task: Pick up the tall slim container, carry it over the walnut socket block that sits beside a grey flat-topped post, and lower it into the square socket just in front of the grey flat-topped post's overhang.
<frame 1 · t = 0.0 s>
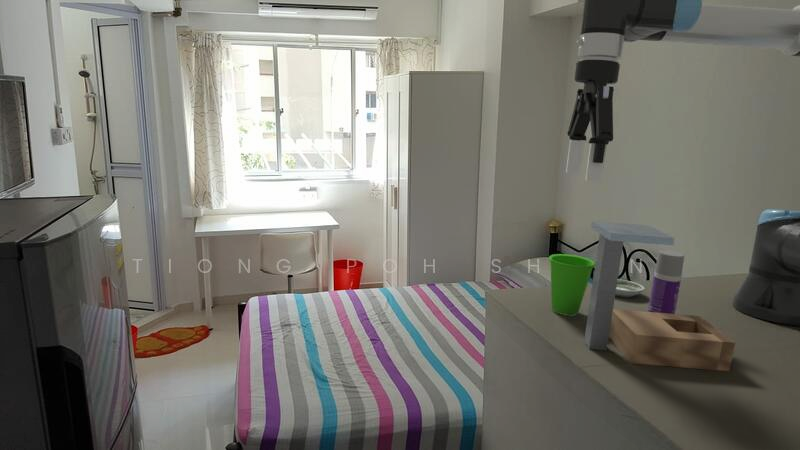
hand: (582, 177, 104), 28 cm above the table, fingers open, 13 cm apart
saucer: (620, 294, 129), on the table
socket block: (664, 351, 96), on the table
container: (658, 328, 108), on the table
grey flat-topped post: (595, 346, 97), on the table
cup: (564, 312, 113), on the table
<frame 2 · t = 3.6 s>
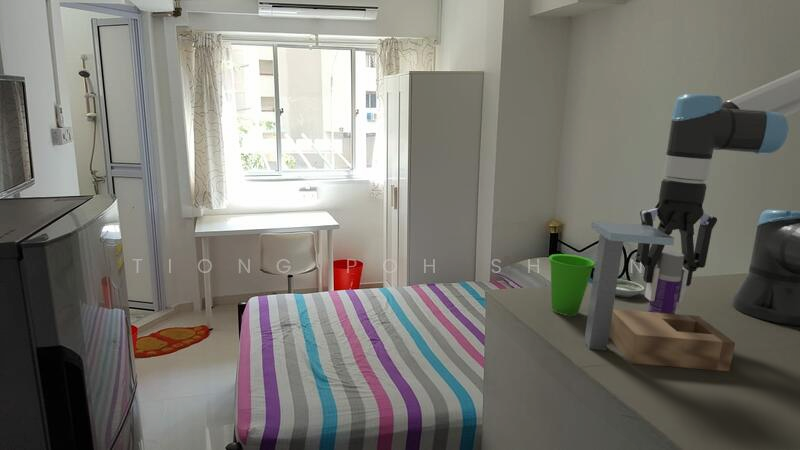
hand: (663, 299, 107), 6 cm above the table, fingers closed on container, 5 cm apart
container: (658, 328, 108), on the table, touching gripper
everything else where it was.
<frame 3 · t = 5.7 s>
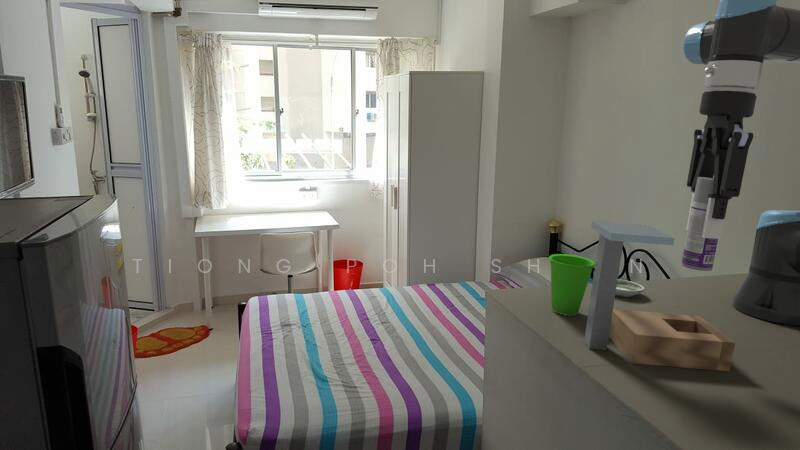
hand: (702, 234, 92), 21 cm above the table, fingers closed on container, 5 cm apart
container: (696, 268, 93), point 15 cm above the table, touching gripper
everything else where it was.
when the fingers open (7 cm above the table, at t = 8.0 s): container drops 1 cm, resting in socket block.
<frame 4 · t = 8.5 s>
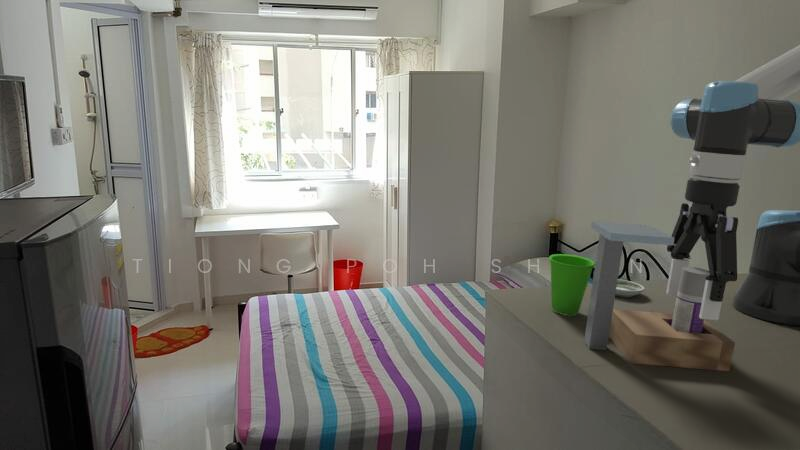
hand: (690, 305, 95), 9 cm above the table, fingers open, 11 cm apart
container: (681, 354, 96), resting in socket block
everything else where it was.
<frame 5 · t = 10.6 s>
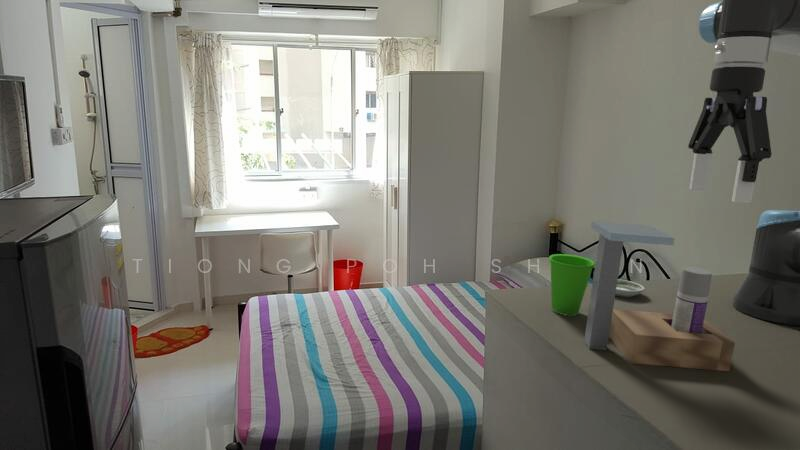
hand: (717, 195, 95), 27 cm above the table, fingers open, 13 cm apart
nothing on the table moved.
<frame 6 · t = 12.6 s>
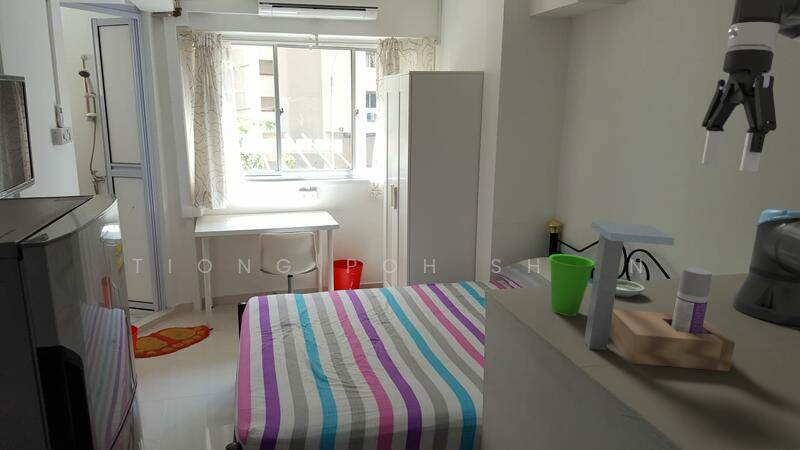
hand: (727, 167, 104), 32 cm above the table, fingers open, 13 cm apart
nothing on the table moved.
at the end: container 0.0 cm from the target spot on the socket block, point 0.0 cm above the socket block's base; container tilted 0°; the gripper is holding nothing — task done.
